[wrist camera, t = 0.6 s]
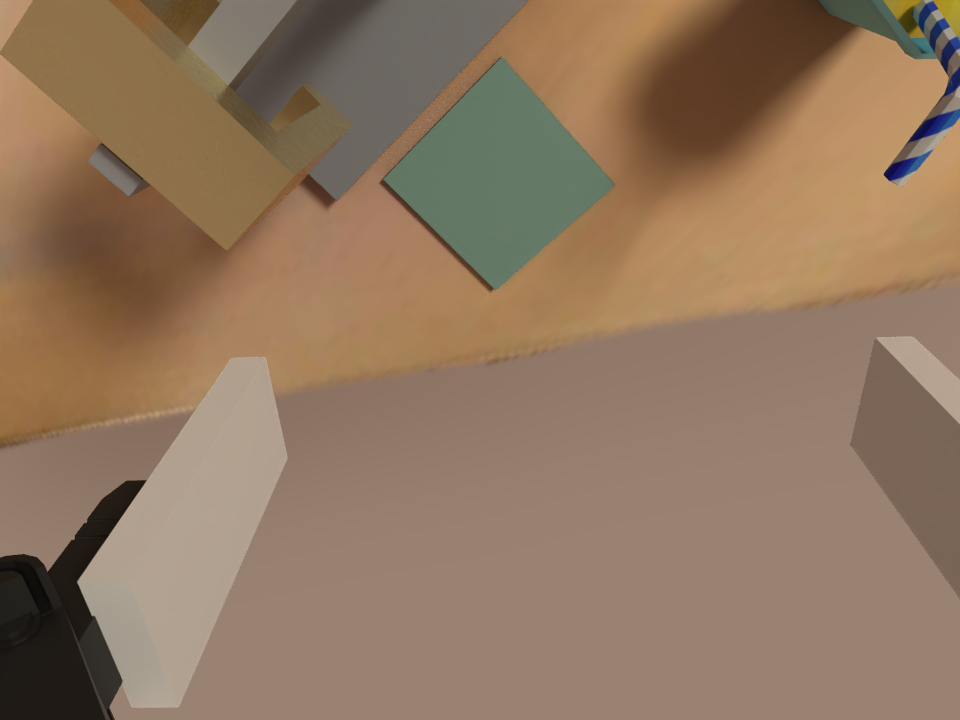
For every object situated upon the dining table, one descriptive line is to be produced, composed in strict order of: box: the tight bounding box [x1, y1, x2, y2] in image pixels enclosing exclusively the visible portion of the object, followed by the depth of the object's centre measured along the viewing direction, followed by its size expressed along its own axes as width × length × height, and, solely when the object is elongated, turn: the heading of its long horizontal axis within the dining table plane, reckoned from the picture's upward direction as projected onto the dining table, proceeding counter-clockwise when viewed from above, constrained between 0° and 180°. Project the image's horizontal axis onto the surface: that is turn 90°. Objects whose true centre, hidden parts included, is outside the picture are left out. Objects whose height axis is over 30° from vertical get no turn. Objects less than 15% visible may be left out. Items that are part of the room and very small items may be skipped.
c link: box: [0, 0, 353, 251], centre depth 26 cm, size 8×4×9 cm, turn 44°
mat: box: [383, 57, 615, 290], centre depth 40 cm, size 9×9×1 cm
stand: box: [87, 0, 528, 201], centre depth 29 cm, size 12×16×18 cm
